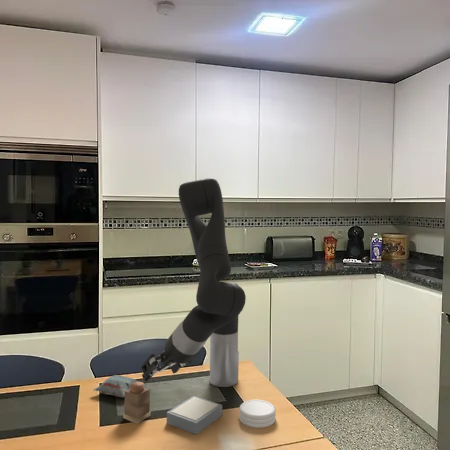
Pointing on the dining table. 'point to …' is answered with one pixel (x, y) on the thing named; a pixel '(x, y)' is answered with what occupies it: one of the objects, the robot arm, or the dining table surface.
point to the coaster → (257, 413)
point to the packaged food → (115, 385)
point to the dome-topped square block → (137, 403)
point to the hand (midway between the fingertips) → (159, 374)
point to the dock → (194, 414)
